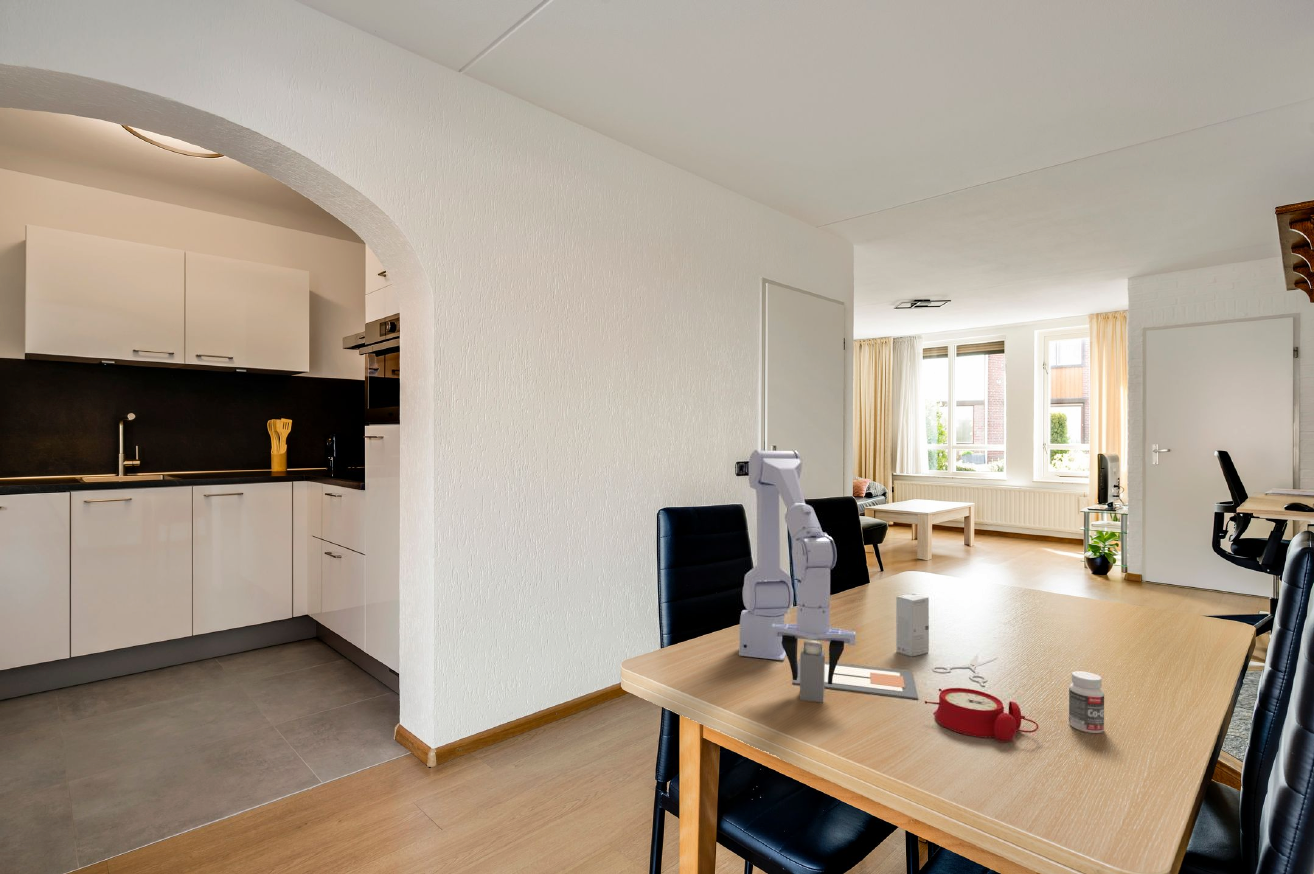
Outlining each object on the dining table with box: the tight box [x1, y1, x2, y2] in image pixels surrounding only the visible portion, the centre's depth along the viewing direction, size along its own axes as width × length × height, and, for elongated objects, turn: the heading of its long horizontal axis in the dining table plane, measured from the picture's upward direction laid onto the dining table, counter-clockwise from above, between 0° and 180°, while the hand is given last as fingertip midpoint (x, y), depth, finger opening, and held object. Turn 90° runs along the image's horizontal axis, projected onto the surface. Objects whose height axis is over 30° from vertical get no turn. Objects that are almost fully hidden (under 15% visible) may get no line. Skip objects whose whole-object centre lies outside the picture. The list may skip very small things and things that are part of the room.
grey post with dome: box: [799, 640, 826, 703], centre depth 115 cm, size 4×4×10 cm
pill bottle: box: [1068, 670, 1105, 734], centre depth 104 cm, size 5×5×8 cm
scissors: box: [931, 653, 998, 688], centre depth 131 cm, size 11×1×20 cm
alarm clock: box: [924, 687, 1039, 743], centre depth 103 cm, size 11×6×15 cm
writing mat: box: [792, 658, 919, 700], centre depth 124 cm, size 22×14×1 cm, turn 72°
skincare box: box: [895, 593, 930, 657], centre depth 140 cm, size 6×4×12 cm
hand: (812, 680), depth 115 cm, fingers open, 5 cm apart
